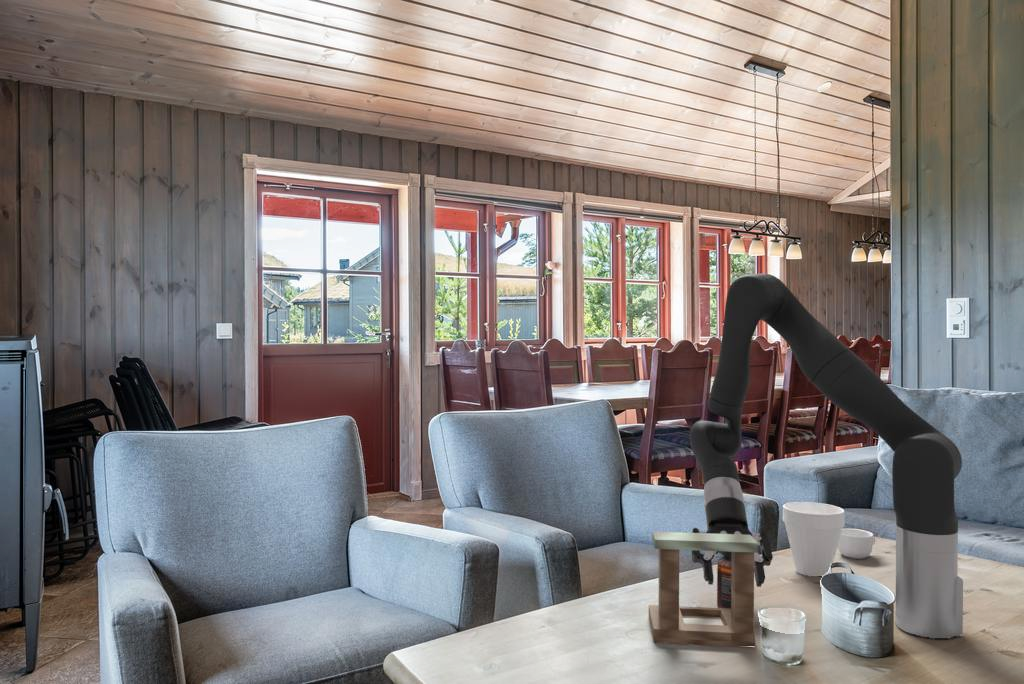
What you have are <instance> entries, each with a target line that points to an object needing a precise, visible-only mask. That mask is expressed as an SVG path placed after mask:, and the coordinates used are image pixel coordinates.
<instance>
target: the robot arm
mask: <svg viewBox="0 0 1024 684" xmlns="http://www.w3.org/2000/svg"><path fill="white" fill-rule="evenodd" d="M760 321H763V322H765V323H766V324H767V325H768V326H769V327H770V328H772V329H773V330H774V331H775V332H776V333H777V334H778V335H780V337H782V339H783V340H784V341H785V342H786V343H787V344H788V346H789V348H790V349H791V352H792V353H793V355H794V358H795V360H796V362H797V365H798V367H799V368H800V370H801V372H802V374H804V376H805V377H806V379H807V380H808V382H810V383H811V384H812V385H813V386H814V387H815V388H816V389H817V390H818V391H819V392H820V393H821V394H822V395H823V396H824V397H825V398H826V399H827V400H828V401H830V402H831V404H833V405H835V406H836V407H837V408H839V409H840V410H842V411H843V412H844V413H846V414H847V415H849V416H850V417H852V418H854V419H856V420H857V421H858V422H860V423H862V424H864V425H865V426H866V427H868V428H870V430H872V431H874V433H875V434H876V435H877V436H878V437H880V439H882V440H883V442H885V444H887V445H888V447H889V448H890V449H891V450H892V451H893V458H892V471H891V472H892V474H891V475H892V477H891V478H892V482H891V483H892V506H893V511H894V514H895V524H896V525H895V531H896V532H895V610H894V612H895V613H894V614H895V626H896V627H898V629H900V630H902V631H904V632H906V633H908V634H911V635H914V634H915V636H919V637H922V638H923V637H924V638H927V637H929V638H928V639H935V638H948V639H950V638H949V637H953V636H956V637H960V636H959V635H963V633H964V580H963V578H962V577H961V576H959V575H958V574H959V573H958V570H959V568H958V567H959V566H958V564H959V563H958V562H959V560H958V559H959V558H958V557H959V553H958V551H959V549H958V546H959V540H958V539H959V517H958V515H957V512H956V507H955V479H956V478H957V477H958V476H959V474H960V472H961V470H962V466H963V458H962V454H961V452H960V450H959V447H957V445H956V444H955V443H954V441H952V440H951V439H950V437H948V436H947V435H945V434H943V432H941V431H939V430H938V429H937V428H935V427H934V426H933V425H931V424H930V423H929V422H928V421H926V420H925V419H924V418H923V417H921V416H920V415H919V414H918V413H917V412H914V410H912V409H911V408H910V407H909V406H908V405H907V404H906V403H905V402H903V400H902V399H900V397H898V395H897V394H896V393H895V392H894V391H893V390H892V389H891V387H889V386H888V384H886V383H885V382H884V381H883V379H882V378H881V377H880V376H878V375H877V373H875V372H874V370H873V369H872V368H871V367H870V366H868V364H867V363H866V362H865V361H864V360H863V359H861V357H860V356H858V355H857V354H856V353H855V352H854V351H853V350H851V349H850V348H849V346H847V345H846V344H845V343H844V342H843V341H841V340H840V339H839V338H838V337H837V336H836V335H835V334H834V333H832V332H831V331H830V329H829V328H827V327H826V326H825V325H824V324H822V322H820V321H819V320H818V319H817V318H815V317H814V315H813V314H811V313H810V312H809V311H808V310H807V308H806V307H805V306H804V305H803V303H801V301H800V300H799V299H798V298H797V297H796V295H795V294H794V293H793V292H792V291H791V290H790V289H789V287H788V286H786V284H785V283H784V281H782V280H781V279H779V278H778V277H777V276H775V275H772V274H769V273H755V274H753V273H751V274H744V275H741V276H738V277H736V278H735V279H734V280H733V281H732V282H731V284H730V285H729V287H728V290H727V293H726V299H725V307H724V317H723V326H722V334H721V335H722V336H721V343H720V350H719V355H718V356H719V357H718V361H717V366H716V371H715V375H714V379H713V382H712V385H711V389H710V392H709V396H708V401H707V408H708V410H709V411H710V412H711V413H713V414H715V415H717V416H720V417H722V418H724V419H726V421H725V423H722V422H715V421H709V420H698V421H696V422H695V423H694V424H693V425H692V426H691V428H690V430H689V435H688V437H689V445H690V447H691V450H692V453H693V455H694V457H695V459H696V462H697V463H698V465H699V468H700V470H701V473H702V481H703V501H704V502H703V506H704V509H705V517H706V527H707V530H706V531H701V530H699V528H698V527H694V528H692V531H691V533H711V534H740V535H751V536H752V537H753V538H754V540H755V541H756V542H757V547H758V546H759V549H760V552H761V554H760V553H759V552H757V553H755V552H754V581H755V586H756V587H758V588H761V587H762V585H763V584H764V583H765V580H766V575H765V568H764V567H766V566H767V567H770V566H771V563H772V560H773V558H774V557H773V553H772V552H773V551H772V548H771V545H770V541H769V540H770V539H769V536H768V532H767V531H766V530H760V532H751V531H750V528H749V523H748V517H747V513H746V505H745V500H744V499H745V498H744V495H743V494H744V493H743V489H742V487H741V482H740V475H739V471H738V470H739V469H738V466H737V463H736V462H735V461H734V459H732V457H735V456H736V455H737V454H738V453H739V451H740V450H741V447H742V416H743V415H742V414H743V409H744V404H745V402H746V397H747V394H748V390H749V387H750V382H751V359H750V358H751V357H750V355H751V354H750V353H751V343H752V339H753V337H754V334H755V331H756V328H757V327H758V325H759V322H760ZM704 553H705V554H704ZM704 553H701V550H691V561H692V562H693V563H695V564H696V563H698V564H700V565H701V566H702V571H703V579H704V580H705V582H707V583H708V585H710V586H711V585H713V584H714V571H713V569H714V568H713V563H712V562H713V560H714V559H716V557H717V555H718V554H721V556H724V555H723V551H706V552H704ZM963 636H964V635H963ZM953 638H954V637H953Z"/></svg>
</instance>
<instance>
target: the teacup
mask: <svg viewBox="0 0 1024 684" xmlns="http://www.w3.org/2000/svg"><path fill="white" fill-rule="evenodd" d="M875 542H876V538H875V536H874V533H872V532H871V531H868V530H863V529H858V528H842V531H841V534H840V538H839V542H838V546H837V550H838V551H839V552H840V554H841V555H843V556H844V557H846V558H849V559H853V560H856V559H857V560H863V559H866V558H867V557H869V556H871V553H872V552H873V551H872V550H873V547H874V544H875Z"/></svg>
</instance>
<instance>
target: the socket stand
mask: <svg viewBox="0 0 1024 684" xmlns="http://www.w3.org/2000/svg"><path fill="white" fill-rule="evenodd" d="M651 541H652V545H653V547H654V549H655V550H658V605H657V604H648V621H649V627H650V631H651V636H652V641H653V643H655V644H656V643H657V644H673V645H674V644H675V645H677V644H678V645H694V646H695V645H696V646H697V645H699V646H716V647H732V646H733V647H734V646H740V647H739V648H742V647H741V646H755V647H756V633H755V631H754V629H755V625H754V624H755V574H754V552H755V553H758V545H757V542H756V541H755V540H754V538H753V537H752V536H751V535H740V534H711V533H692V532H675V531H674V532H673V531H652V538H651ZM681 550H682V551H692V550H700V552H703V551H706V552H707V551H728V552H731V609H730V608H718V607H708V606H707V607H705V606H703V607H701V606H685V605H683V606H681V605H680V551H681ZM734 648H735V647H734Z"/></svg>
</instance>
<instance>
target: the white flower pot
mask: <svg viewBox="0 0 1024 684" xmlns="http://www.w3.org/2000/svg"><path fill="white" fill-rule="evenodd" d="M782 521H783V522H784V525H785V530H786V535H787V538H788V543H789V546H790V547H789V548H790V551H791V555H792V561H793V563H794V570H795V572H796V573H798V574H800V575H802V574H803V575H802V576H806V575H808V576H807V577H811V576H822V575H824V574H825V573H826V572H828V570H829V567H830V564H831V563H833V564H834V561H835V556H836V554H837V550H838V542H839V538H840V534H841V531H842V529H843V528H844V527H845V526H846V524H845V510H844V509H843V508H842V507H839V506H836V505H833V504H827V503H823V502H822V503H821V502H814V501H813V502H812V501H795V502H787V503H784V504H783V505H782Z"/></svg>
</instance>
